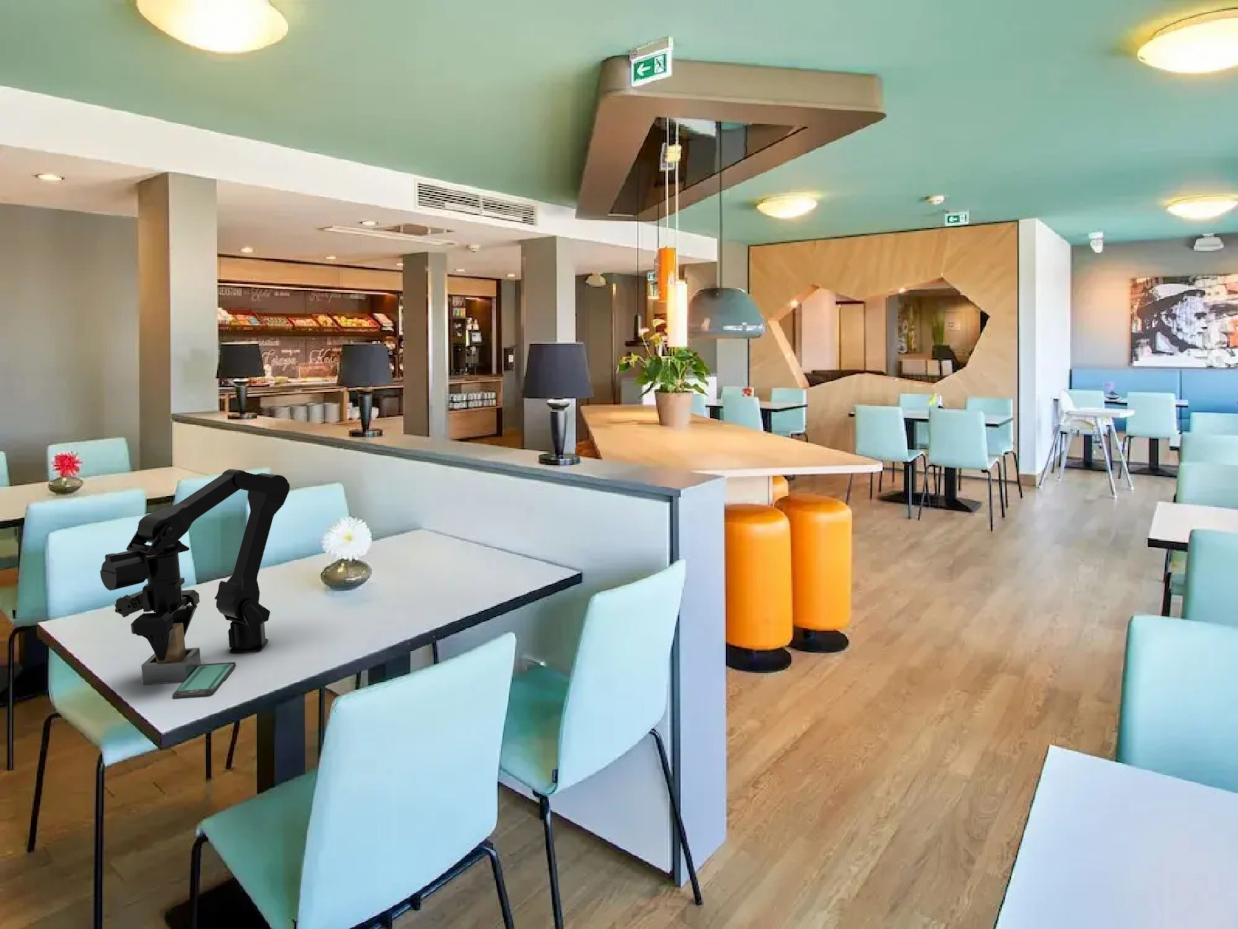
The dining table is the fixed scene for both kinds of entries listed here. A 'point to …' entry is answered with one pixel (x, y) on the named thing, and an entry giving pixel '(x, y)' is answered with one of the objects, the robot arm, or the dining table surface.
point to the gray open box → (170, 668)
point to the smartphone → (204, 680)
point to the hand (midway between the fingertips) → (170, 651)
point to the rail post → (176, 645)
